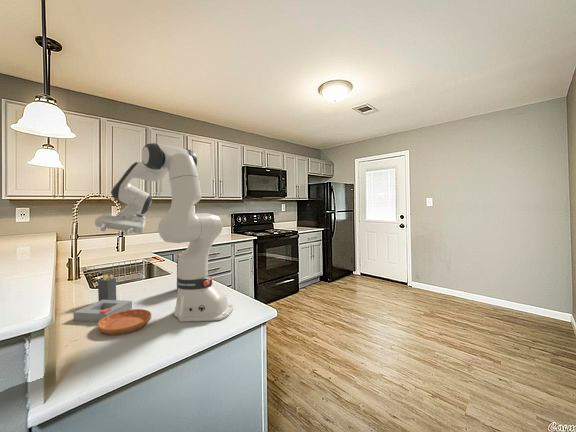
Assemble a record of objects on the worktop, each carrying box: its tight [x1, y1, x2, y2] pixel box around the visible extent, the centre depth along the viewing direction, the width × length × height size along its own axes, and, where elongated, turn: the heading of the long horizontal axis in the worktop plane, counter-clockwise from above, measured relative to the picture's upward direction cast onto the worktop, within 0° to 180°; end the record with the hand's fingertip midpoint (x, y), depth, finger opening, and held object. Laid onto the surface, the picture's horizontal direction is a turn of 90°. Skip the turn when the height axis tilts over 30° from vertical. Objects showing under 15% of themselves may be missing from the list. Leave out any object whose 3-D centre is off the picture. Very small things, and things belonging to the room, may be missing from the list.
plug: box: [97, 274, 117, 301], centre depth 112 cm, size 4×4×12 cm
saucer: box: [96, 308, 152, 336], centre depth 90 cm, size 16×16×3 cm
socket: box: [73, 299, 133, 323], centre depth 100 cm, size 13×13×4 cm
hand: (114, 231), depth 116 cm, fingers open, 8 cm apart
